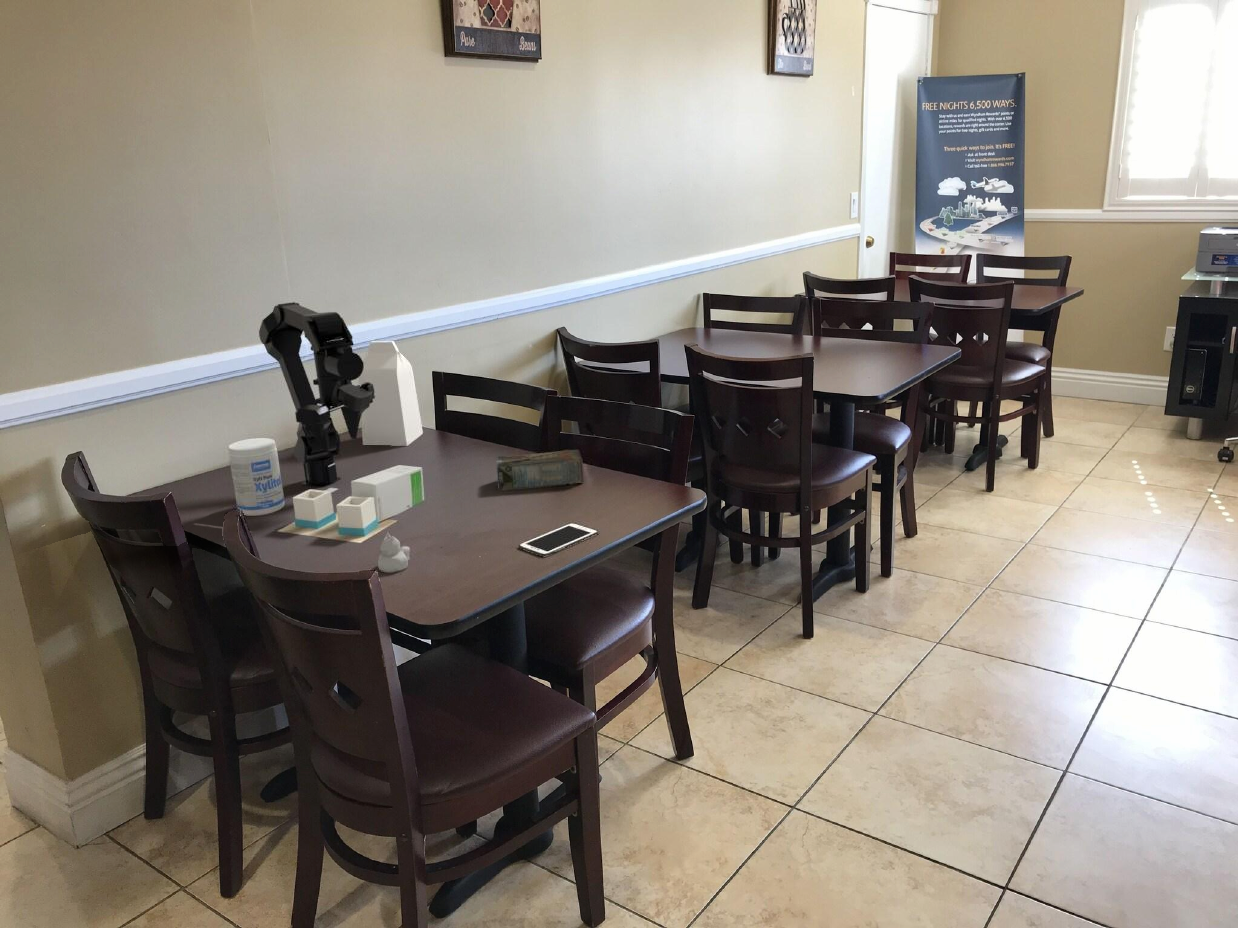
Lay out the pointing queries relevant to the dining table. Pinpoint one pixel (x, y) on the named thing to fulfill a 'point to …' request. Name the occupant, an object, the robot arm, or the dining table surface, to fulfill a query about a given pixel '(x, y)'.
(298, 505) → the sleeve
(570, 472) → the beverage carton
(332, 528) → the pin board
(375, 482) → the skincare box
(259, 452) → the supplement tub
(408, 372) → the milk
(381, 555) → the white figurine
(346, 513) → the sleeve
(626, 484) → the dining table surface
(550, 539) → the cell phone
